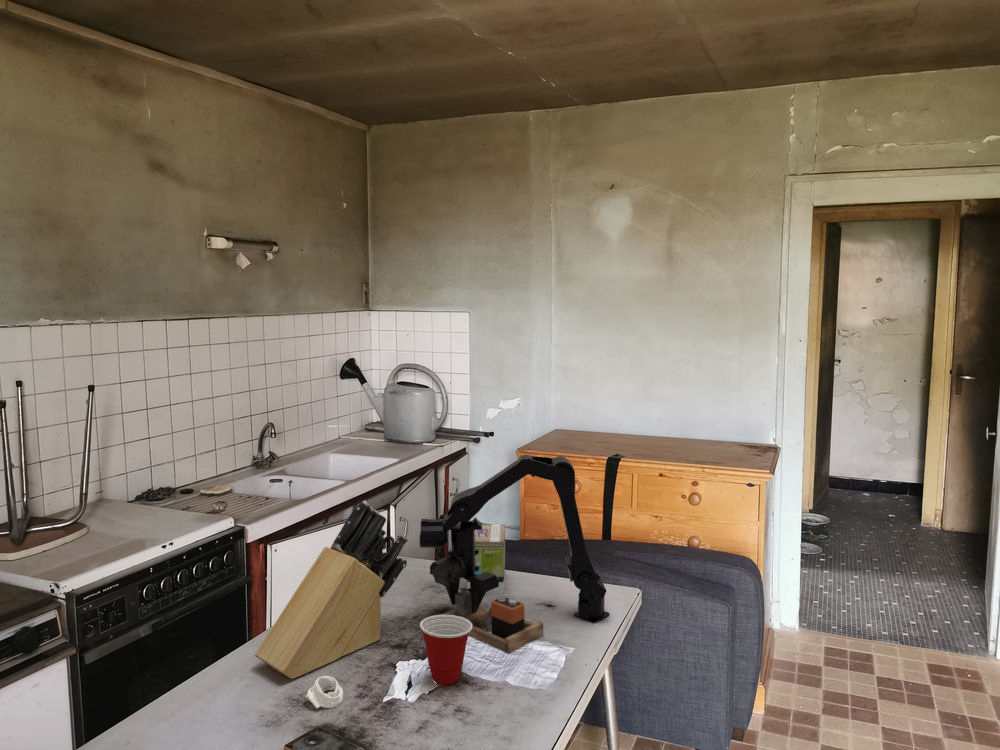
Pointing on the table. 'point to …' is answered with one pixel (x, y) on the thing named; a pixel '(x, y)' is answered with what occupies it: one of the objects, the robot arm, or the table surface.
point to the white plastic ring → (322, 698)
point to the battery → (506, 617)
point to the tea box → (491, 553)
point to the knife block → (336, 598)
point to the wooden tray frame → (507, 644)
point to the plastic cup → (445, 646)
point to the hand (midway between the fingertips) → (464, 608)
